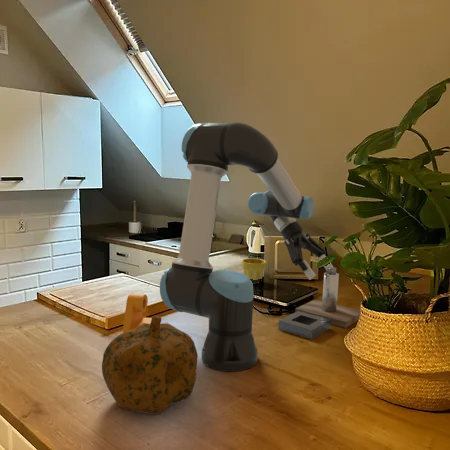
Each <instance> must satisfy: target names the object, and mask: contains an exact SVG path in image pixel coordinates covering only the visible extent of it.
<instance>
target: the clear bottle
mask: <svg viewBox="0 0 450 450" xmlns="http://www.w3.org/2000/svg"><path fill="white" fill-rule="evenodd" d="M339 276H340V273H337V267H335V266H333V267H328V268H327V270H326V271H325V272H324V273H323V285H322V300H321V301H322V310H323V311H325V312H336V311H337V305H338V295H339V293H338V292H339V280H340V277H339Z"/></svg>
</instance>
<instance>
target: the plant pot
mask: <svg viewBox="0 0 450 450" xmlns="http://www.w3.org/2000/svg"><path fill="white" fill-rule="evenodd" d="M266 265H267V261H266V260H265V259H263V258H255V257H252V258H251V257H250V258H243V259H242V260H241V269H242V270H243V274H244V275H246V276H247V277H249V278H250V279H253V280H258V279H263V275H264V272H265V270H266V268H267V266H266Z"/></svg>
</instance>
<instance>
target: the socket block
mask: <svg viewBox="0 0 450 450" xmlns="http://www.w3.org/2000/svg"><path fill="white" fill-rule="evenodd" d="M330 322H331V320H330V319H326V318H322V317H319V316H315V315H311V314H307V313H304V312H300V311H297V312H295V311H294V312H293V313H291V314H289V315H287V316H284V317H282V318H280V319H278V328H277V329H278V330H279V331H283V332H286V333H289V334H293V335H296V336H298V337H299V336H300V337H303V338H305V339H309V340H314V339H315V338H317V337H319V336H320V335H321V334H324V333H326V331H328V330H329V331H330V330H331V324H330Z"/></svg>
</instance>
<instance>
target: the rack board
mask: <svg viewBox="0 0 450 450" xmlns="http://www.w3.org/2000/svg"><path fill="white" fill-rule="evenodd" d="M297 311H300V312H304V313H307V314H311V315H315V316H319V317H322V318H326V319H330V320H331V322H330V325H333V326H337V327H341V328H345V329H347V328H349V327H350V326H351V325H352V324H355V323H356V322H358V321H359V320H358V318H359V314H360V311H361V310H359V309H356V308H352V307H348V306H343V305H339V304H337V311H336V312H325V311H323V310H322V300H318V299H313V300H311V301H309V302H306V303H304V304H301V306H298V307H296V308H295V309H294V313H295V312H297ZM357 320H358V321H357ZM355 321H356V322H355Z"/></svg>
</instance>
